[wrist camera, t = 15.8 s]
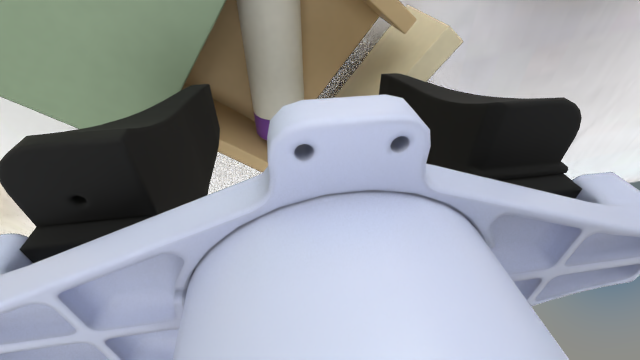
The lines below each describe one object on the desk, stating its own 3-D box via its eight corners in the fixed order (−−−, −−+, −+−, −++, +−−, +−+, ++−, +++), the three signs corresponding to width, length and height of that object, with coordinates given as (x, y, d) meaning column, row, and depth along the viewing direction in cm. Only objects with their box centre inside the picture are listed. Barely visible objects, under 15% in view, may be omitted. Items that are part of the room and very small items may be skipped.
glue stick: (259, -20, 16) (220, -12, 14) (311, -17, 15) (276, -8, 13) (274, 114, 21) (246, 135, 18) (313, 124, 20) (289, 147, 17)
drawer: (467, 65, 21) (516, 98, 17) (350, 185, 26) (366, 232, 22) (217, -192, 12) (195, -251, 8) (120, 64, 18) (78, 104, 14)
